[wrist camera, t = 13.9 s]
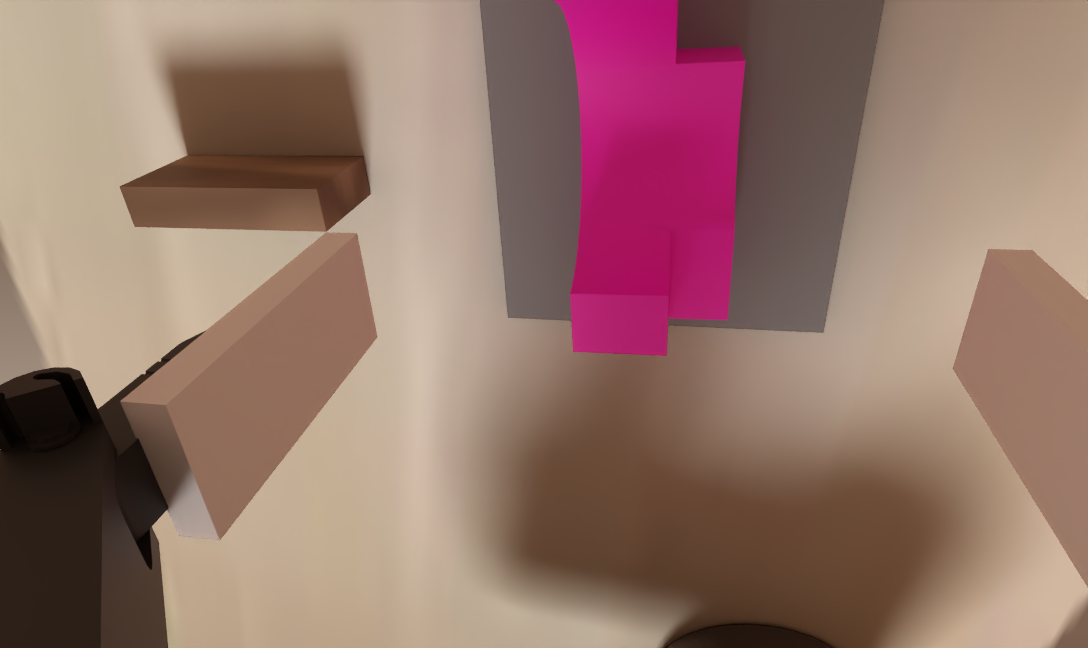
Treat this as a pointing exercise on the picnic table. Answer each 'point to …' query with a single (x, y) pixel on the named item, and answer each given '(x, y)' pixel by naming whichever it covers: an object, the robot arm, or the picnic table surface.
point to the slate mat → (762, 159)
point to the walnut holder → (249, 192)
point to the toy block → (651, 175)
